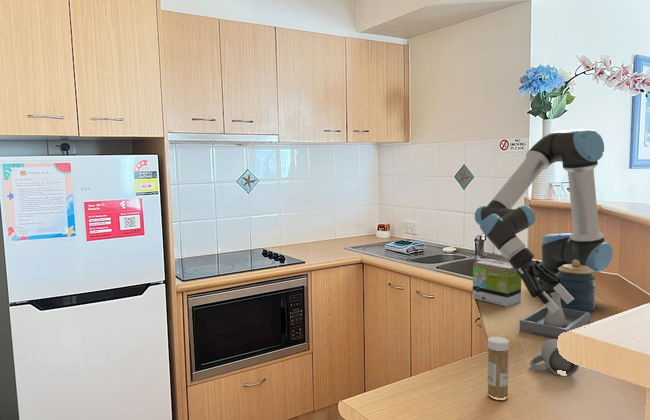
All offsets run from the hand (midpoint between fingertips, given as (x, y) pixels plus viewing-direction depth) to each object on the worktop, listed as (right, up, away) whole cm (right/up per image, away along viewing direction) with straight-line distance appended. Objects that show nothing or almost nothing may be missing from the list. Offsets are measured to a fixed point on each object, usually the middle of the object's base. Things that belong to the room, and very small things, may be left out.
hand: (563, 306), depth 154 cm
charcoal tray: (-2, -7, +2) cm, 8 cm away
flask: (-2, -6, +2) cm, 7 cm away
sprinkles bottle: (-36, -12, -43) cm, 58 cm away
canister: (+14, -5, +22) cm, 26 cm away
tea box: (-10, -5, +33) cm, 35 cm away
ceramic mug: (-17, -11, -30) cm, 36 cm away
